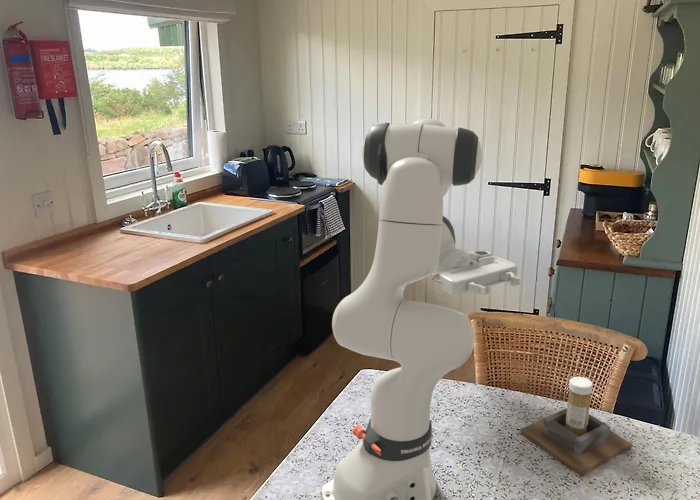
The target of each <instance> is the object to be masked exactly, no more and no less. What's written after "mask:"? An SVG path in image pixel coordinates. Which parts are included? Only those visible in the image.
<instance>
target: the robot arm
mask: <svg viewBox="0 0 700 500" xmlns="http://www.w3.org/2000/svg"><path fill="white" fill-rule="evenodd" d="M361 156H362V162H363V165H364V169H365V171H366V172H367V173H368V174H369V176H370V177H371V178H373V179H375V180H377V183H378V185H380V186H383V185H384V186H383V190H382V194H381V195H382V196H381V201H380V206H379V215H378V216H379V217H378V229H377V235H376V237H377V239H376V246H375V251H374V256H373V261H372V266H371V268H370V269H369V272H368V274H367V276H366V277H365V279H364V280H363V282H362V284H360V285H359V287H358V288H357V289H355V290H354V291H353V292H351V293H350V294H348V295H347V296H345V297H343V299H341V300H340V302H339V303H338V304H337V306H336V308H335V309H334V312H333V314H332V320H331V328H332V333H333V337H334V339H335V341H336V343H337V344H338V346H339V345H340V347H343V348H346V349H348V350H350V351H352V352H355V353H357V354H360V355H362V356H363V355H364V356H367V357H374V358H378V359H379V358H380V359H383V360H387V361H388V360H390V361H394V362H396V363H398V364H399V365H400V367H396V368H392V369H390V370H388V371H385V372H384V373H382V374H380V375H379V376H377V378H376V379H375V380H374V382H373V383H372V385H371V388H370V418H369V421H368V423H367V426H366V428H365V429H364V428H363V427H362V426H361V425H360V424H357V425H355V426H354V427H353V428H352V430H351V431H352V434H353V436H355V437H356V438H357V439H358V440H360V442H359V443H358V444H357V445H355V447H354V448H353V449H352V450H351V451H350V452H349V453H348V454H347V455H346V456H345V457H344V458H343V459H342V460H341V461H340V462H339V463H337V465H336V468H335V471H334V474H333V478H332V479H331V480H329V481H328V482H327V483H324V484H323V485H322V488H321V491H322V492H321V499H322V500H434V497H435V495H436V493H437V481H436V479H435V475H434V471H433V467H432V460H431V459H432V458H431V448H430V447H431V444H432V440H433V439H432V438H433V432H432V431H433V428H432V427H433V426H432V425H433V424H432V421H431V420H430V419H431V405H432V398H433V393H434V390H435V388H436V386H437V384H438V382H440V380H441V379H442V378H443V377H444V376H445V375H447V374H448V373H449V372H452V371H453V370H456V369H458V368H460V367H461V366H463V365H464V364H465V363H466V362H467V360H469V358H470V356H471V355H472V352H473V350H474V347H475V341H476V340H475V338H476V337H475V336H476V335H475V330H474V327H473V324H472V321H471V320H470V319H469V316H468V315H467V314H466V313H463V312H461V311H460V310H459V311H458V310H456V309H453V308H450V307H447V306H444V305H442V304H434V303H428V302H423V301H415V300H410V299H409V300H408V299H405V298H404V291H405V288H406V287H407V285H410V284H412V283H415V282H418V281H420V280H423V279H425V278H427V277H429V276H430V275H431V276H432V278H431V280H432V282H433V283H435V284H438V285H439V286H438V287H439V288H441V289H442V290H443V291H444V292H446V293H447V294H449V295H451V296H457V297H458V296H460V295H464V294H467V293H471V294H479V295H481V296H487V295H489V294H490V288H491V287H493V286H496V285H500V284H504V283H507V282H509V285H510V286H512V287H517V286H520V283H521V280H520V278H519V277H518V266H517V264H516V263H515V262H512V261H511V260H508V259H506V258H503V257H500V256H498V255H497V256H496V255H493V253H492V252H490V251H486V250H485V251H472V250H471V251H470V250H463V249H460V248H457V247H456V235H455V229H454V226H453V224H452V222H451V221H450V220H449V219H448V218H447V217H445V216H444V196H446V195H447V193H448V191H449V189H450V187H451V185H452V186H453V187H455V186H458V187H459V186H463V185H468V184H470V183H471V182H473V181H474V179H475V177H476V176H477V173H478V172H479V170H480V167H481V165H482V161H483V150H482V145H481V142H480V140H479V135H477V134H476V133H475V132H474V131H473V130H470V129H468V128H463V127H457V128H453V127H449V126H446V125H445V124H444V123H443V122H441V121H439V120H437V119H435V118H422V119H421V118H420V119H418V120H416V121H414V122H412V123H411V122H409V123H408V122H407V123H406V122H405V123H393V124H390V122H383V123H378V124H374V125H373V126H371V127H370V128H369V129H368V130H367V132H366V134H365V138H364V140H363V143H362V148H361Z"/></svg>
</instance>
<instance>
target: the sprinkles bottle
mask: <svg viewBox="0 0 700 500" xmlns="http://www.w3.org/2000/svg"><path fill="white" fill-rule="evenodd" d="M593 386H594V385H593V382H592V380H590V379H589V378H587V377H584V376H583V377H582V376H574V377H572V378H570V379H569V385H568V390H569V391H568V399H567V407H566V408H567V414H566V425H565V428H567V429H569V430H570V431H572V432H573V433H575V434H576V435H578V436H582V435H584V434H586V430H587V425H588V417H589V414H590V406H591V405H590V403H591V396H592V392H593Z"/></svg>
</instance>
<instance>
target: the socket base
mask: <svg viewBox="0 0 700 500" xmlns="http://www.w3.org/2000/svg"><path fill="white" fill-rule="evenodd" d="M566 414H567V407H566V408H564V409H561V410H560V411H558V412H555V413H552V414H551V415H548V416H547V417H544V418H542V419H540V420H538V421H535V422H533V423H531V424H529V425H527V426H524V427H522V428H520V430H519V431H520V432H519V434H520V435H521V436H523V437H525V439H528V440H529V441H530V442H531V443H533V444H534V445H536V446H537V447H539V448H540V449H542V450H543V451H545V452H546V454H547V453H548V454H549V455H550V456H552V457H553V458H554V459H556V460H558V462H560V463H561V464H563V465H564V466H566V467H568V469H570V470H572V471H573V472H575V474H577V475H579V476H580V477H582V476H584V475H585V474H588V473H589V472H591V471H593V470H595V469H597V468H599V467H600V466H602V465H604V464H605V463H607V462H610V461H611V460H613V459H614V458H617V457H618V456H621V455H622V454H624V453H626V452H627V451H629V450H632V446H633V444H632V443H631V442H630V441H628V440H627V439H624V438H623V437H622V436H620V435H618V434H617V433H614V432H613V431H612V430H611V426H610V425H608V424H607V423H606V422H605V423H604V422H603V421H601V420H599V419H598V418H596V417H594V416H593V415H591V414H590V413H589V417H588V425H587V430H586V434H584V435H582V436H578V435H576V434H575V433H573V432H572V431H570V430H569V429H567V428H565V425H566Z"/></svg>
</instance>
